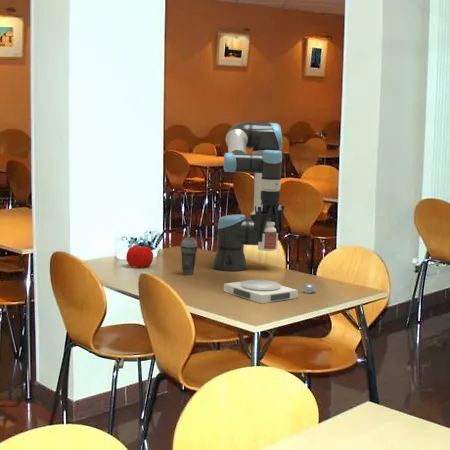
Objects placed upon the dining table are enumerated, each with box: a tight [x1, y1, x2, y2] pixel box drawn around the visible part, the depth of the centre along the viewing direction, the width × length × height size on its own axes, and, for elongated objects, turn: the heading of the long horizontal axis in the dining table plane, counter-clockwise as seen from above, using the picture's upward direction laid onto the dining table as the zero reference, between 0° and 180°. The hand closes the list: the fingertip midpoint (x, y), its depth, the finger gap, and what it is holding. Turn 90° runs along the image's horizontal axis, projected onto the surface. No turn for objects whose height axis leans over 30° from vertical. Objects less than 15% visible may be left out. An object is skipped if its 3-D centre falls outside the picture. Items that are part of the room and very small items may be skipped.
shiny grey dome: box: [302, 283, 317, 295], centre depth 320 cm, size 5×5×3 cm
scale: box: [223, 278, 299, 305], centre depth 312 cm, size 22×18×4 cm
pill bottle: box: [263, 221, 276, 252], centre depth 320 cm, size 6×6×11 cm
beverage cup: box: [180, 226, 198, 276], centre depth 344 cm, size 7×7×20 cm
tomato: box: [125, 244, 154, 269], centre depth 356 cm, size 11×12×9 cm
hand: (267, 249), depth 320 cm, fingers closed on pill bottle, 6 cm apart
